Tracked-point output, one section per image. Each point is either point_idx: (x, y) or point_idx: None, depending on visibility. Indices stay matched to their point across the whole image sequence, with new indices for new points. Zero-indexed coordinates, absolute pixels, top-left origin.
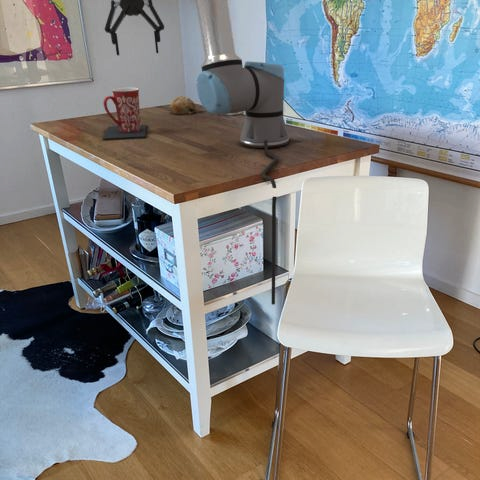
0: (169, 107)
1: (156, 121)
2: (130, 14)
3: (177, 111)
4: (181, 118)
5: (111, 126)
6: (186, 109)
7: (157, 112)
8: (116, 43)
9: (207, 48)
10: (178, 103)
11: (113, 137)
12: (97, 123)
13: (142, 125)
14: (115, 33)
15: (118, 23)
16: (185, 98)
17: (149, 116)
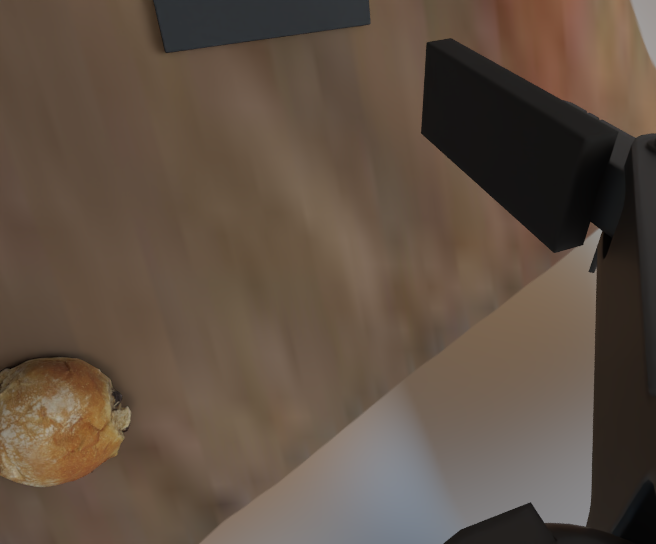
0: (129, 412)
1: (145, 188)
2: (466, 534)
3: (67, 360)
4: (14, 264)
5: (353, 21)
6: (11, 378)
7: (203, 408)
8: (502, 76)
9: None
10: (52, 390)
11: None
12: (438, 157)
13: (183, 24)
14: (588, 134)
15: (644, 246)
16: (12, 441)
17: (219, 316)
